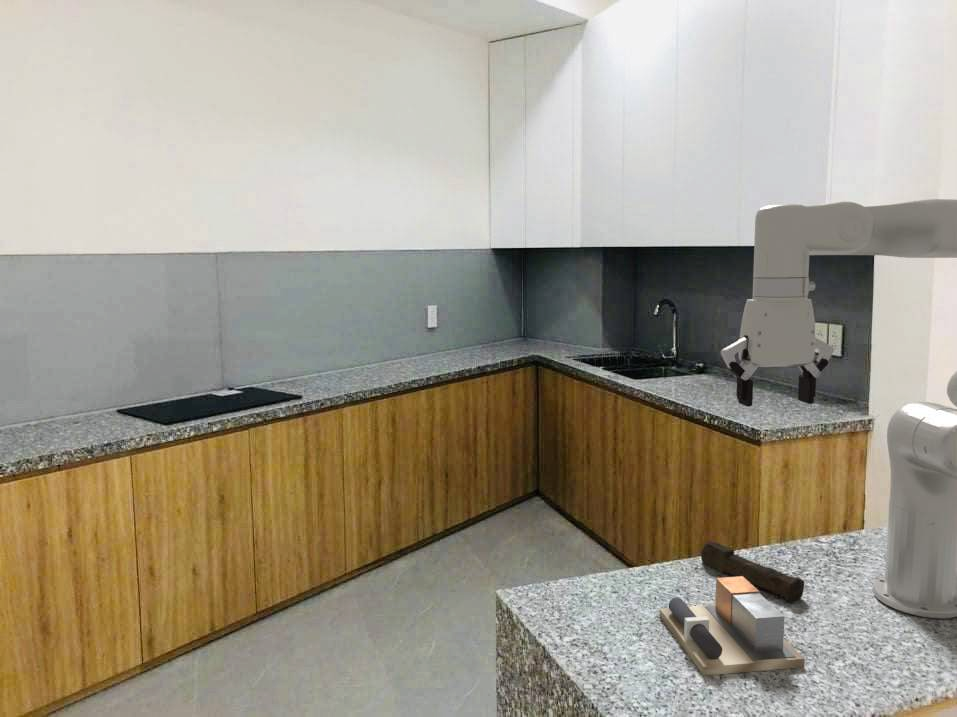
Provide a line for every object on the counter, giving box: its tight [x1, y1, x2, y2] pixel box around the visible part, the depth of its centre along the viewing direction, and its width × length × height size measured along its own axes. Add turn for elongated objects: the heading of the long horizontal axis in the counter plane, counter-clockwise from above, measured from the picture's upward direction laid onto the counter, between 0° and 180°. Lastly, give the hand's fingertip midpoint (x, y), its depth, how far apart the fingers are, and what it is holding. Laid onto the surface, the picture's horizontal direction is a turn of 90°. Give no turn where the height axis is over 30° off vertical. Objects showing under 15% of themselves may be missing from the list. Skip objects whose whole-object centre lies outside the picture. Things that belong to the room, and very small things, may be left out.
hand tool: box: [700, 540, 805, 605], centre depth 120 cm, size 19×4×5 cm, turn 31°
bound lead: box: [668, 596, 722, 660], centre depth 101 cm, size 3×13×3 cm, turn 6°
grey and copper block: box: [714, 576, 785, 653], centre depth 102 cm, size 4×12×5 cm, turn 6°
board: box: [659, 604, 806, 676], centre depth 102 cm, size 14×16×1 cm
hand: (775, 403), depth 108 cm, fingers open, 9 cm apart
